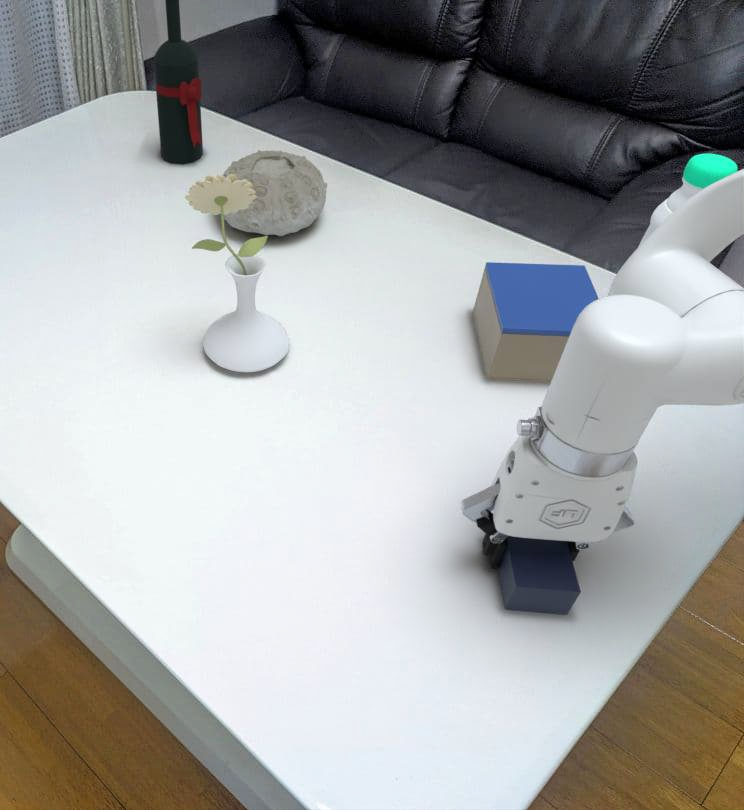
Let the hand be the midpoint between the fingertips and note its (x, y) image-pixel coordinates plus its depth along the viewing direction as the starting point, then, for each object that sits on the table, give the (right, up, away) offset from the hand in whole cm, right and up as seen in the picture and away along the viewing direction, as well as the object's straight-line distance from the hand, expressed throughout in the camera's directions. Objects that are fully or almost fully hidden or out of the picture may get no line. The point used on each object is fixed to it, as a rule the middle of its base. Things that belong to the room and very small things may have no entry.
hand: (524, 557), depth 73 cm
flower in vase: (-27, +22, +25) cm, 43 cm away
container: (+10, +23, +23) cm, 34 cm away
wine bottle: (-36, +61, +65) cm, 96 cm away
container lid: (+10, +28, +17) cm, 34 cm away
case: (0, 0, 0) cm, 1 cm away
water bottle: (+24, +24, +23) cm, 41 cm away
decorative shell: (-21, +45, +48) cm, 69 cm away
